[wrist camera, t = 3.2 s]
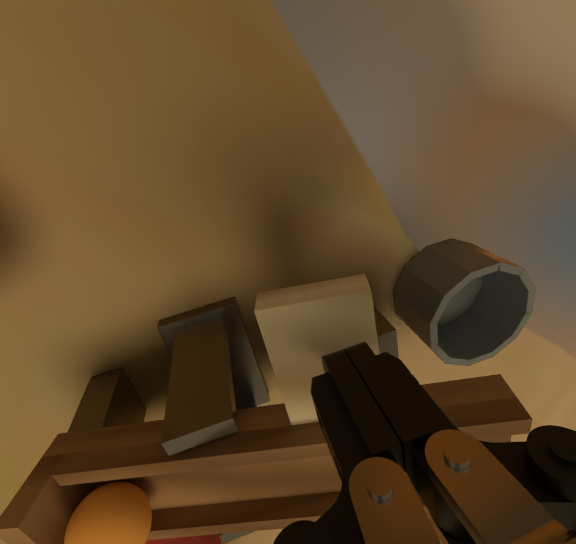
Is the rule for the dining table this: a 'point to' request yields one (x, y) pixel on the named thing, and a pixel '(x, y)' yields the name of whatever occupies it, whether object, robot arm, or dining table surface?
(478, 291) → the cup
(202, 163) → the dining table surface
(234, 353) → the wooden rack
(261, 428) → the wooden tray
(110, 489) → the ball
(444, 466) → the robot arm
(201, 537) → the stacking bear
